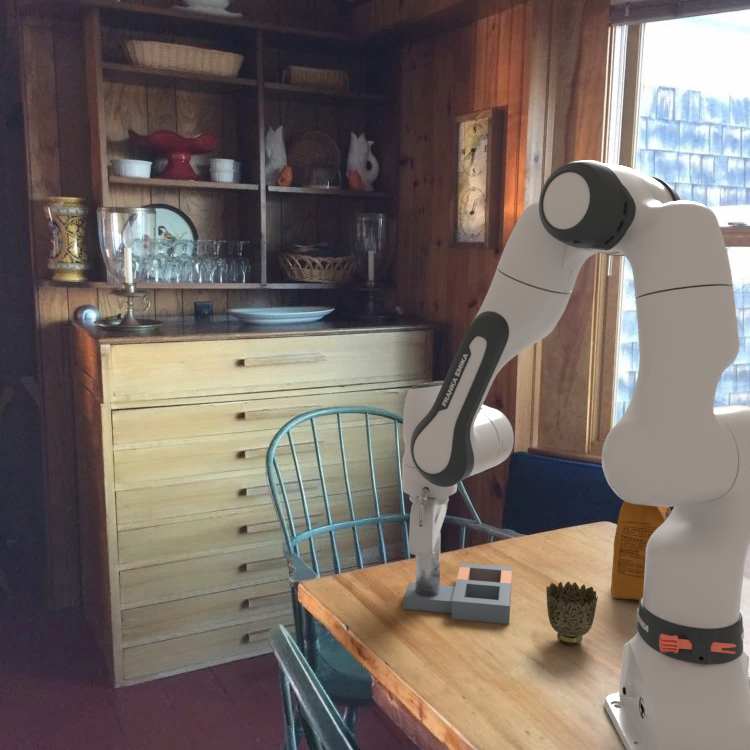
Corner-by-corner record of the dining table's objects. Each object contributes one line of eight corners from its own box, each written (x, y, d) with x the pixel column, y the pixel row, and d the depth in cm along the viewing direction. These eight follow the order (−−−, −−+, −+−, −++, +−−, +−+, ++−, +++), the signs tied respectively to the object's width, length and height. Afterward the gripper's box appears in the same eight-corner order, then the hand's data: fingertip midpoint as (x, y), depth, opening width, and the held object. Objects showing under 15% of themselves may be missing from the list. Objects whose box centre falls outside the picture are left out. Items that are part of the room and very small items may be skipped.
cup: (596, 656, 114) (599, 604, 113) (544, 651, 116) (546, 599, 115) (593, 633, 122) (596, 583, 120) (544, 628, 123) (546, 578, 122)
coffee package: (679, 586, 139) (688, 463, 136) (664, 612, 129) (672, 480, 126) (622, 574, 144) (628, 455, 141) (602, 598, 134) (609, 471, 131)
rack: (509, 624, 124) (509, 606, 124) (401, 614, 127) (401, 596, 127) (511, 583, 140) (512, 567, 139) (415, 575, 143) (415, 559, 143)
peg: (438, 597, 129) (439, 538, 128) (413, 595, 130) (414, 536, 128) (440, 587, 133) (442, 530, 131) (417, 585, 134) (417, 528, 132)
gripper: (441, 500, 118) (440, 589, 120) (454, 465, 138) (453, 542, 140) (399, 497, 119) (398, 585, 121) (418, 463, 139) (417, 539, 141)
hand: (428, 561), depth 131 cm, fingers closed on peg, 4 cm apart
